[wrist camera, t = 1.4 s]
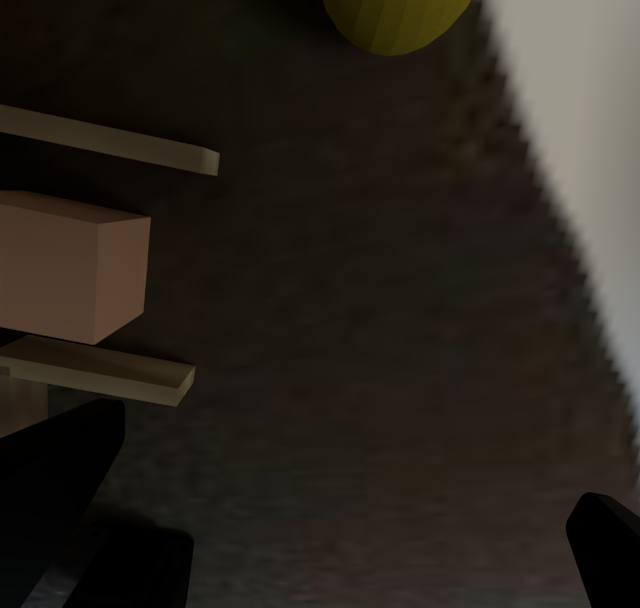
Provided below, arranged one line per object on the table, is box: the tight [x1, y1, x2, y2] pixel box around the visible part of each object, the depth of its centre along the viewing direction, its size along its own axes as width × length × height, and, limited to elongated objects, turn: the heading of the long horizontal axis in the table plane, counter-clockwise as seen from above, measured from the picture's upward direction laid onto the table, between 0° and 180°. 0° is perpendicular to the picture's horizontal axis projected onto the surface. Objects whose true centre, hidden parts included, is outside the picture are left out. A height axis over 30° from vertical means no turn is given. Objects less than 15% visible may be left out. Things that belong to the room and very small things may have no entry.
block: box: [0, 190, 151, 345], centre depth 17 cm, size 5×6×4 cm
